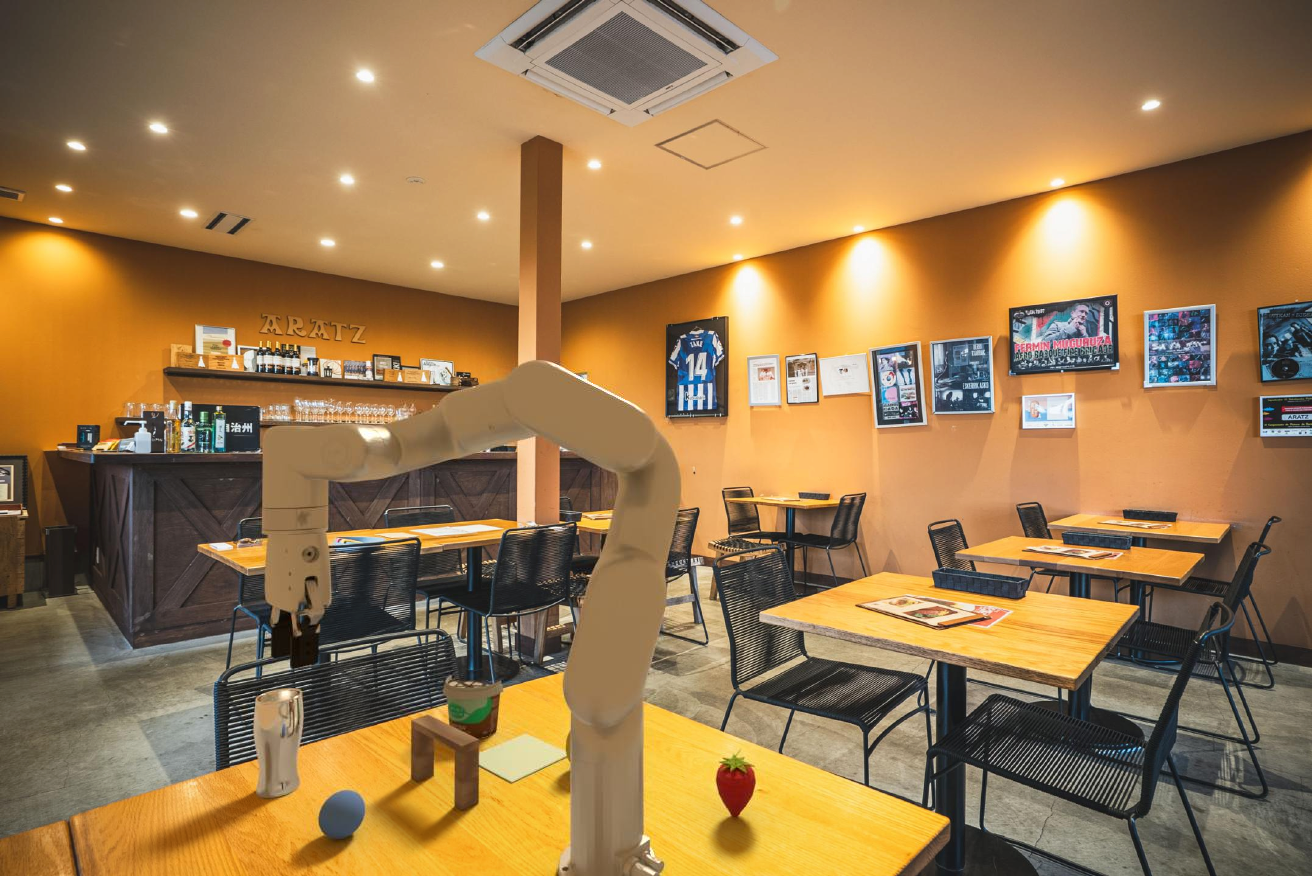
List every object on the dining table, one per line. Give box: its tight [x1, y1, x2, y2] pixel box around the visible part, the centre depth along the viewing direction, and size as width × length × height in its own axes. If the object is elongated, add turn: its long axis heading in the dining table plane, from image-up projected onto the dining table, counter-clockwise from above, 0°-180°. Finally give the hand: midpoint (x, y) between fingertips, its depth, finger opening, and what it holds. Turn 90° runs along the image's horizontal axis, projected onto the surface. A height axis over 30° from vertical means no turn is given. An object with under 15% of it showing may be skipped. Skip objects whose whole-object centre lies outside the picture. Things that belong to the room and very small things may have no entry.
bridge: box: [410, 714, 480, 812], centre depth 104 cm, size 3×15×10 cm, turn 49°
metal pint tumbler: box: [253, 687, 304, 799], centre depth 104 cm, size 7×7×15 cm
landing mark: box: [479, 733, 567, 784], centre depth 115 cm, size 13×13×1 cm
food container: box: [442, 674, 504, 740], centre depth 124 cm, size 12×6×10 cm, turn 73°
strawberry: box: [715, 749, 757, 818], centre depth 96 cm, size 6×8×10 cm
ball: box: [317, 789, 366, 840], centre depth 91 cm, size 6×6×6 cm
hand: (294, 659), depth 83 cm, fingers open, 5 cm apart
